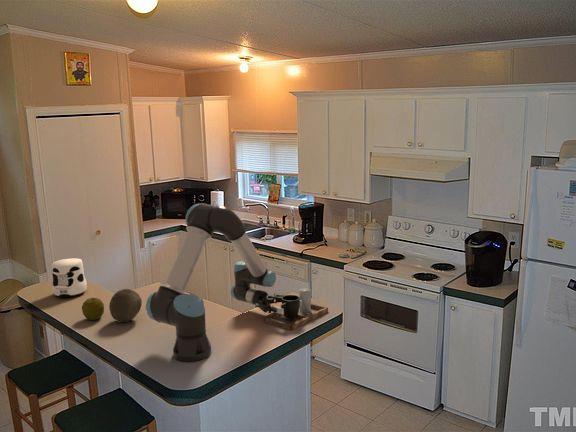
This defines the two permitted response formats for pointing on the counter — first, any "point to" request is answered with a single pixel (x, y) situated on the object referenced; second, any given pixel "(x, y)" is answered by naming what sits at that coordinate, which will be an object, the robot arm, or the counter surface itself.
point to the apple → (93, 308)
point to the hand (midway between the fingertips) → (292, 307)
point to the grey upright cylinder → (305, 300)
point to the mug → (290, 306)
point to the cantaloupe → (125, 305)
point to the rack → (302, 316)
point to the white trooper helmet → (68, 277)
